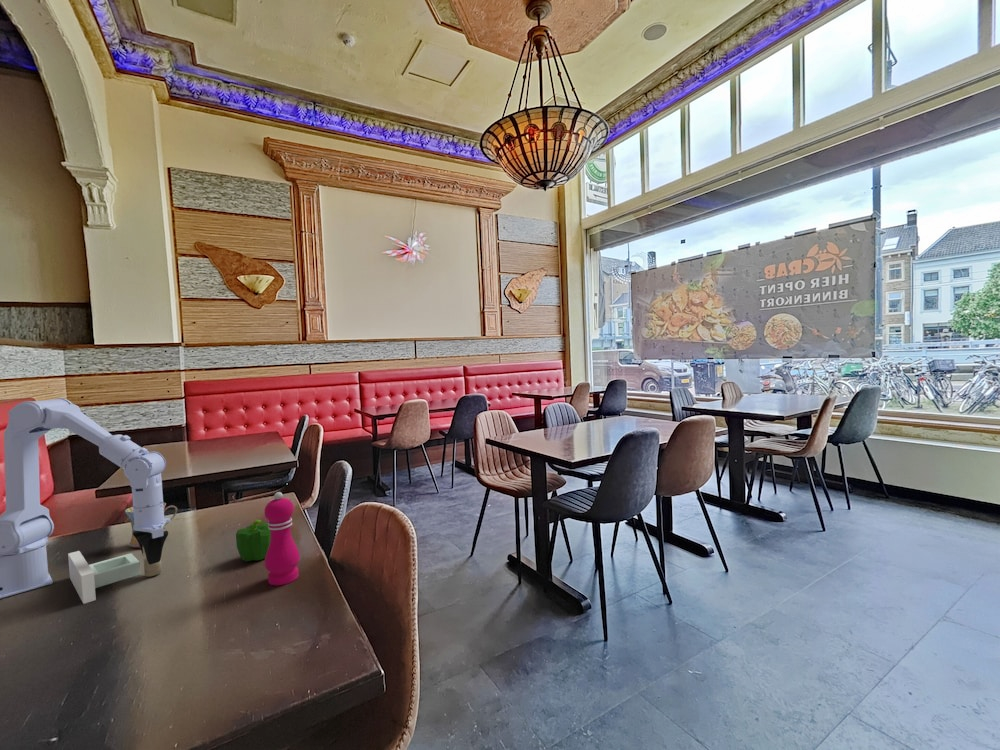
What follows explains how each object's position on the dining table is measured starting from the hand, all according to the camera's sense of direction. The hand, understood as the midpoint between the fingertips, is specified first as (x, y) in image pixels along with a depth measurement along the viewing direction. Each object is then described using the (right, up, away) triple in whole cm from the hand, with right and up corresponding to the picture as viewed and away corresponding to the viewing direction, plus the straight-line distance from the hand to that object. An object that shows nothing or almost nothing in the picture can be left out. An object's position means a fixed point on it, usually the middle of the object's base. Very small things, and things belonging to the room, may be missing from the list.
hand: (152, 560), depth 109 cm
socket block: (-10, -4, +1) cm, 11 cm away
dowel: (0, -3, 0) cm, 3 cm away
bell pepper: (+21, -3, +7) cm, 22 cm away
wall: (-12, -4, -5) cm, 14 cm away
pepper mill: (+34, -2, -5) cm, 34 cm away
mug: (-16, -4, +22) cm, 28 cm away
